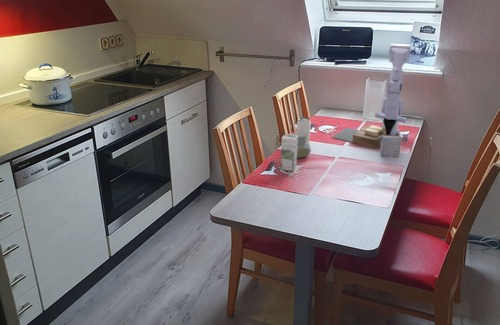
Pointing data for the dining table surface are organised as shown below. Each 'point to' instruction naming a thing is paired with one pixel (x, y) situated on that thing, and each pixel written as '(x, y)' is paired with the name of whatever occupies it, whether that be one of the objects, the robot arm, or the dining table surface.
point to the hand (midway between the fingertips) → (388, 134)
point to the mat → (346, 134)
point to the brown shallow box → (368, 138)
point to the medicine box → (390, 146)
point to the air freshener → (302, 146)
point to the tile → (374, 130)
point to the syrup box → (289, 152)
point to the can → (304, 127)
